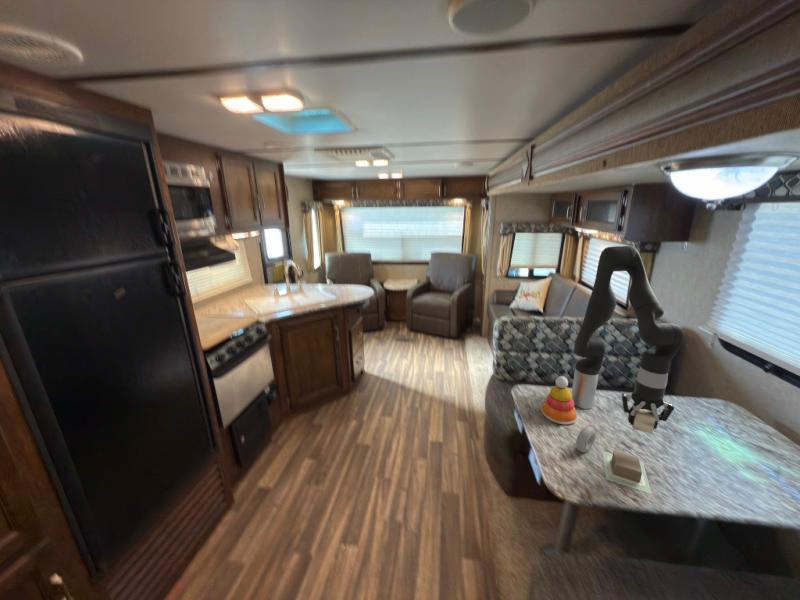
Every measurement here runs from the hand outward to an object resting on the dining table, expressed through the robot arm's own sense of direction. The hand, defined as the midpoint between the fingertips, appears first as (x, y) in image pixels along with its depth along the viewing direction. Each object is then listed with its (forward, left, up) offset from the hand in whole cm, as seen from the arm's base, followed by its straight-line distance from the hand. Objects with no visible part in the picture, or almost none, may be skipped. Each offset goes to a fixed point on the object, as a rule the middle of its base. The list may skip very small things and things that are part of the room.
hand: (641, 425), depth 103 cm
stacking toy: (-17, -24, -16) cm, 33 cm away
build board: (+6, -3, -16) cm, 17 cm away
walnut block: (+6, -3, -15) cm, 16 cm away
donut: (+1, -15, -16) cm, 22 cm away
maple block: (0, 0, 0) cm, 0 cm away
